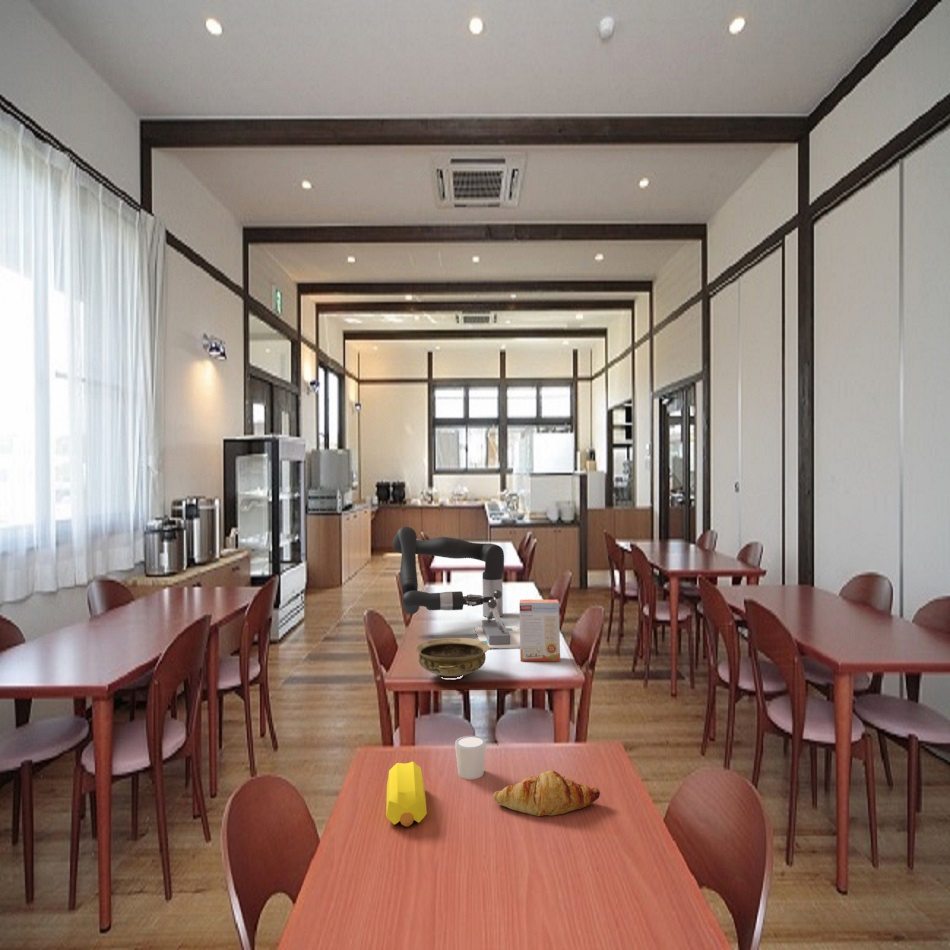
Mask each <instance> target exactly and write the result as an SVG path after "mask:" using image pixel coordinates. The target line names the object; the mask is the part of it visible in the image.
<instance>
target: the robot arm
mask: <svg viewBox="0 0 950 950" xmlns="http://www.w3.org/2000/svg"><path fill="white" fill-rule="evenodd" d="M417 536H418V535H417V533H416V531H415V529H413V528H412V527H410V526H403V527H401V528H399V529H398V531H397V532H396V534H395V536H394V537H393V540H392V543H391V544H392V545H391V546H392V548H393V550H394V551H395V552H397V553H399V554H401V561H400V570H399V571H400V572H399V574H400V575H399V578H400V586H401V593H402V594H401V595H402V599H401V601H402V610H403V611H404V612H405V613H406V614H408V615H415V614H416V613H417V612H418V611H419V610H420V607H424V608H426V609H427V610H428V611H463V610H464V606H466V605H467V607H476V606H477V607H478V606H480V605H481V606H482V616H483V617H485V616H486V617H485V618H487V616H488V614H489V611H490V608H489V607H488V601H489V600H490V599H494V596H493V593H494V591H496V590H500V591H501V592H502V596H501V598H499V599H498V602H497V606H496V608H497V610H498V613H499V616H501V617H503V616H502V615H504V604H503V602H504V600H503V599H504V597H503V590H504V589H503V574H504V573H505V572H504V571H505V570H504V569H505V553H504V549H503V548H502V546H500V545H499V544H495V543H490V542H488V543H487V542H485V543H481V542H471V541H467V540H464V539H460V538H455V537H449V536H440V537H435V538H430V539H425V540H423V539H417V538H418V537H417ZM416 555H421V556H422V555H424V556H425V555H426V556H431V557H432V556H433V557H440V558H446V559H471V560H472V559H473V560H478V561H482V562H484V563H485V564H484V571H483V572H482V595H480V594H472V593H470V594H467V595H465V596H464V594H463V592H462V591H460V590H458V591H443V592H430V593H429V592H426V591H420V590H418V589H419V588H418V587H419V585H418V584H419V583H418V574H417V573H418V572H417V560H416V559H417V557H416ZM492 618H495V617H494V614H493V617H492Z"/></svg>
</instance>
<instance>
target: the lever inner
mask: <svg viewBox="0 0 950 950" xmlns="http://www.w3.org/2000/svg"><path fill="white" fill-rule="evenodd" d="M493 596H494V600H496V602H498V599H499V598H501V596H502V592H501V591H500V590H496V591H494V593H493ZM493 618H494V617H493V612H492V609H491V608H490V611H489V614H488V616H487V617H486V620H488V622H490V621H491V620H493Z"/></svg>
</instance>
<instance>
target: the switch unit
mask: <svg viewBox="0 0 950 950" xmlns="http://www.w3.org/2000/svg"><path fill="white" fill-rule="evenodd" d="M502 624H503V626H504V633H502V632H501V630H499V628H498V625H497V622H496V620H495V619H491V621H490V622H488V620H487V619H481V626H480V627H474V632H475V631H476V632H475V634H477V635H476V637H477V636H478V637H477V640H478V639H479V640H480V641H482V642H484V643H486V644H488V646H489V649H488V650H491V649H490V648H510V649H520V628H518V626H517V625H505V624H504V622H503V621H502Z"/></svg>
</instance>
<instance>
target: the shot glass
mask: <svg viewBox="0 0 950 950" xmlns="http://www.w3.org/2000/svg"><path fill="white" fill-rule="evenodd" d="M486 746H487V741H486V740H485V739H484V738H483V737H482V736H481V737H480V736H478V735H464V736H461V737H459V738H457V739H455V742H454V747H455V755H456V756H455V757H456V765H457V775H458V776H459V777H460V778H462V779H463V780H464V779H465V780H477V779H479V778H481V777H483V775H484V773H485V761H486V760H485V759H486Z"/></svg>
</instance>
